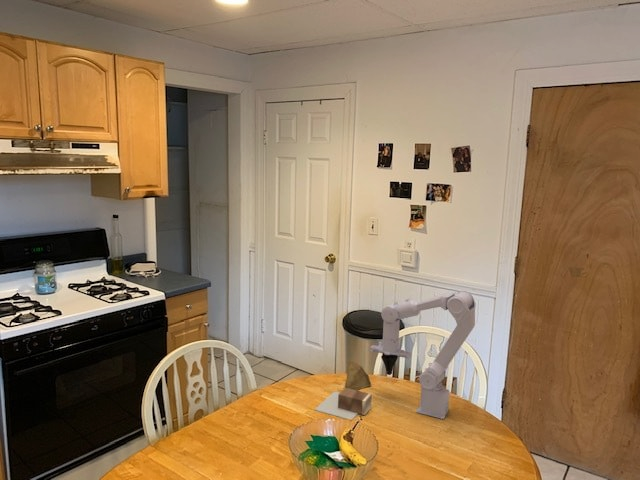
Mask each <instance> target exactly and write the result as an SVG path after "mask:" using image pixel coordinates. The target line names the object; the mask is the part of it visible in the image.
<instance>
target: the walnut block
mask: <svg viewBox="0 0 640 480" xmlns="http://www.w3.org/2000/svg"><path fill="white" fill-rule="evenodd" d="M339 392H340V393H339V394H338V408H340V409H343V410H347V411H351V412H354V413H358V414H359V415H363V416H365V415H366V414H367V413H368V412H369V411H370V410H371V409H372V401H373V400H372V398H373V397H372V396H373V394H372V393H367V392H365V391H361V390H353V389H349V388H343V389H342V391H339ZM358 414H357V415H358Z"/></svg>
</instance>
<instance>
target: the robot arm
mask: <svg viewBox="0 0 640 480" xmlns="http://www.w3.org/2000/svg"><path fill="white" fill-rule="evenodd" d="M476 306H477V304H476V302H475V298H474V297H473V295H472V293H471V292H469V291H467V290H460V291H458V292H457V291H455V292H453V291H452V292H447V293H443V294H440V295H436V296H433V297H430V298H429V297H428V298H426V299H423V300H419V301H418V300H417V299H415V298H412V299H411V298H410V297H409V298H406V299H405V300H403V301H401V302H398V301H396V302H394V303H391V304H388V305H386V306H385V307H383V309H381V312H380V315H381V318H382V320H383V323H382V327H383V328H382V329H383V330H382V345H374V344H373V345H371V346H370V352H371V353H379V354H382V355H381V357H380V358H381V360H382V362H383V364H384V368H385V371H386V375H388V376H391V375H392V374H393V372H394V371H393V370H394V368H395V367H394V366H395V364H396V362H397V360H398V358H399V357H400V358H404V359H406V360H409V359H411V357H412V353H411V352H410V351H407V350H404V349H401V348H399V346H400V322H401V321H400V320H403V319H408V318H412V317H417V316H419V314H420V312H421V311H426V310H430V309H431V310H432V309H437V308H441V309H443V310H444V311H448V312H449V314H451V316H452V317H453V318H454V320H455V323H456V326H455V328H454V330H453V331H452V332H451V333H450V335H449V337H448V339H447V340H446V341H445V343H444V345H443V346H442V348H441V349H440V351H439V352H438V354H437V356H436V357H435V359H434V360H433V361H432V363H431V364H430V365H429V366H428V367H427V368H426V369H425V370H424V371H423V372H422V373H420V375H419V377H418V378H419V379H418V381H419V384H420V398H419V399H420V402H419V406H418V408H417V409H416V413H418V414H422V415H425V416H430V417H434V418H438V419H441V420H444V419H445V418H446V415H447V414H448V412H449V410H450V408H449V406H450V405H449V404H450V390H449V389H448V388H445V387H443V386H444V385H443V380H444V379H445V377H446V371H447V370H448V368H449V365H450V364H451V362H452V361H453V359H454V357H455V356H456V355H457V353H458V352H459V350H460V349H461V347H462V346H463V344H464V343H465V341H467V338H468V337H469V336H470V334H471V332H472V331H473V329H474V328H475V325H476Z"/></svg>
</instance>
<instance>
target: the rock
mask: <svg viewBox="0 0 640 480" xmlns="http://www.w3.org/2000/svg"><path fill="white" fill-rule="evenodd" d="M371 386H372V383H371V380H370V375H368V374H367V372H366V371H365V370H364V368H363V366H362V365H360V364H358V363H357V362H356V361H355V362H354V361H348V366H347V373H346V380H345V384H344V387H345V388H349V389H353V390H357V391H360V390H361V389H365V388H367V387H371ZM345 388H344V389H345Z"/></svg>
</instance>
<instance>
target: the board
mask: <svg viewBox="0 0 640 480" xmlns="http://www.w3.org/2000/svg"><path fill="white" fill-rule="evenodd" d="M340 392H341V391H336V390H335V391H333V392H332V393H331V394H330V395H329V396H328V397H327V398H325V399H324V400H323V401H322V402H321V403H320V404H319V405H317V406H316V407H315V408H314V409H313V410H314V411H315V412H320V413H323V414H327V415H330V416H333V417H337V418H341V419H344V420H347V419H353V420H354V419H355V418H356V416H358V413H354V412H351V411H347V410H343V409H340V408H338V394H339V393H340Z"/></svg>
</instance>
